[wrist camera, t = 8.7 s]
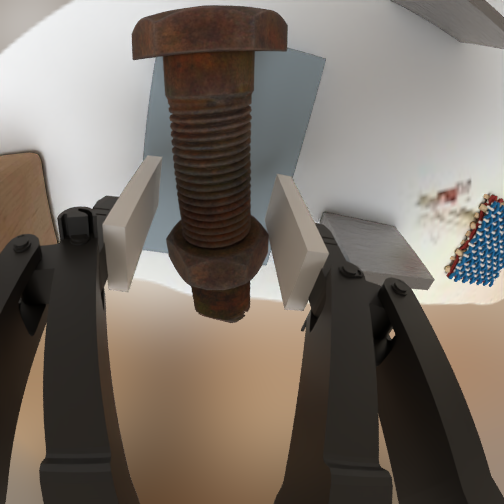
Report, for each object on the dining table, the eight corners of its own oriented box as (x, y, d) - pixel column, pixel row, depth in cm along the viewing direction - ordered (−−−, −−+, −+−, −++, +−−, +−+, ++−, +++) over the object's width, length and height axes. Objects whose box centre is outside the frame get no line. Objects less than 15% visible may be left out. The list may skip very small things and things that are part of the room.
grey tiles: (462, 32, 14) (527, 41, 8) (390, 236, 25) (427, 289, 19) (391, -12, 13) (453, -25, 7) (319, 222, 24) (348, 282, 18)
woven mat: (524, 210, 25) (534, 219, 23) (485, 278, 31) (493, 288, 29) (483, 186, 23) (495, 196, 21) (438, 270, 29) (446, 282, 27)
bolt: (211, 265, 21) (197, 24, 11) (281, 289, 19) (299, 20, 10) (159, 325, 16) (101, 26, 7) (238, 361, 15) (230, -3, 5)
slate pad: (321, 58, 16) (326, 58, 15) (264, 257, 25) (266, 265, 24) (164, 30, 14) (161, 28, 13) (142, 242, 23) (140, 249, 22)
